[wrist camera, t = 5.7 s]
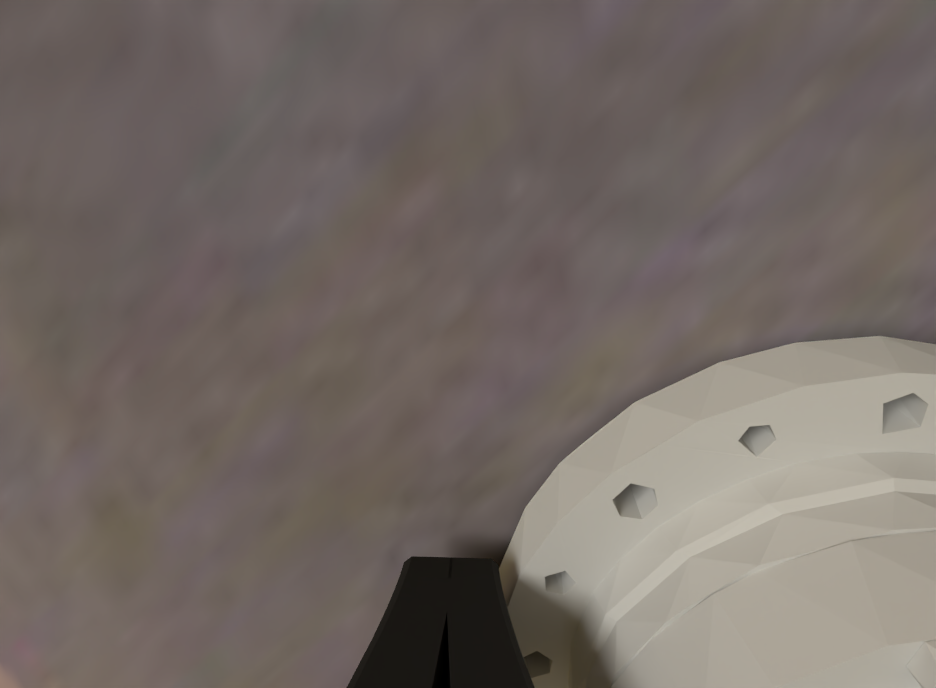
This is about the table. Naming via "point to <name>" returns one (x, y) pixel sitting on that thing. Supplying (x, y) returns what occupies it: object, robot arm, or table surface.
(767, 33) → the table surface
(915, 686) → the mechanical component
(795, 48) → the table surface
